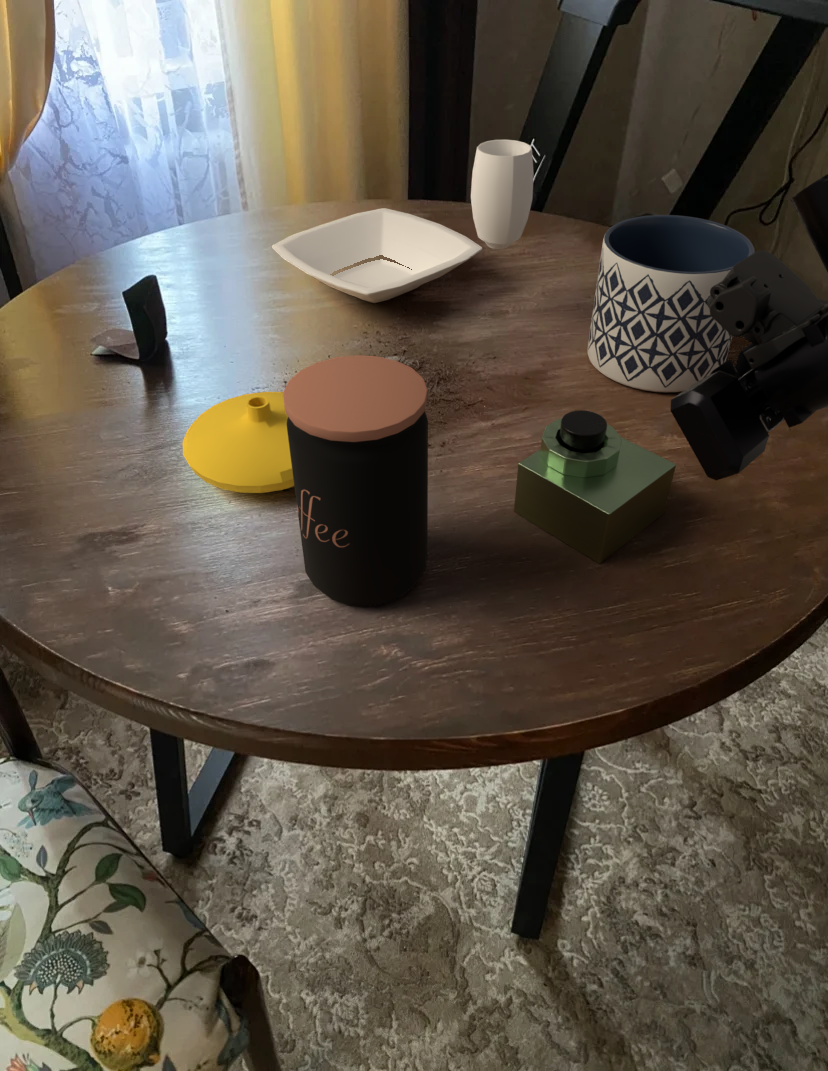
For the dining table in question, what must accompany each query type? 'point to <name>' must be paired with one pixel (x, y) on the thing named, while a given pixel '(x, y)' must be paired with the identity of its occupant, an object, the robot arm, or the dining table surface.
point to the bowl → (377, 253)
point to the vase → (242, 444)
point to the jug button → (582, 431)
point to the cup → (501, 191)
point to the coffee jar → (360, 476)
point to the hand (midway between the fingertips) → (682, 421)
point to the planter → (661, 301)
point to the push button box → (592, 492)
